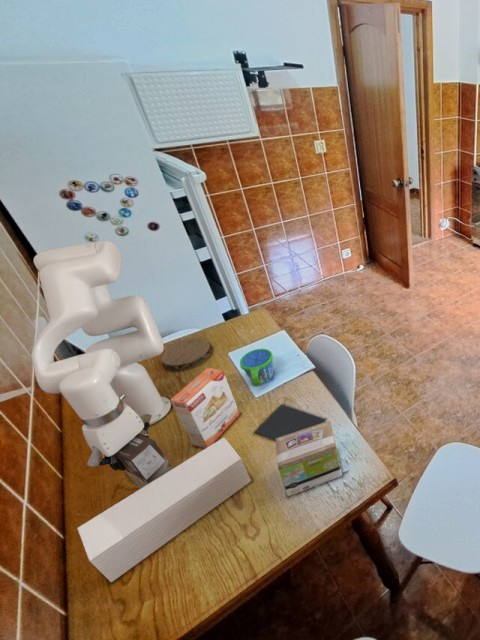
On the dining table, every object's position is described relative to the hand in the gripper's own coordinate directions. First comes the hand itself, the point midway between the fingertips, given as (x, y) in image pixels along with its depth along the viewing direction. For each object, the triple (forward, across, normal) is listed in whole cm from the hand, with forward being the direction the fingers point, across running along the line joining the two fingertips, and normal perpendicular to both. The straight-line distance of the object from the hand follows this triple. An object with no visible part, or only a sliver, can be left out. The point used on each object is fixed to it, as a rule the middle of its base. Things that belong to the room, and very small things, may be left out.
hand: (133, 456), depth 104 cm
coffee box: (+10, 0, +2) cm, 11 cm away
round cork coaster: (+12, -45, -33) cm, 57 cm away
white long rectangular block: (+12, +5, +16) cm, 20 cm away
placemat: (+12, -26, +26) cm, 39 cm away
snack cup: (+12, -43, +3) cm, 45 cm away
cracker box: (+12, -20, +5) cm, 23 cm away
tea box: (+12, -14, +43) cm, 47 cm away
